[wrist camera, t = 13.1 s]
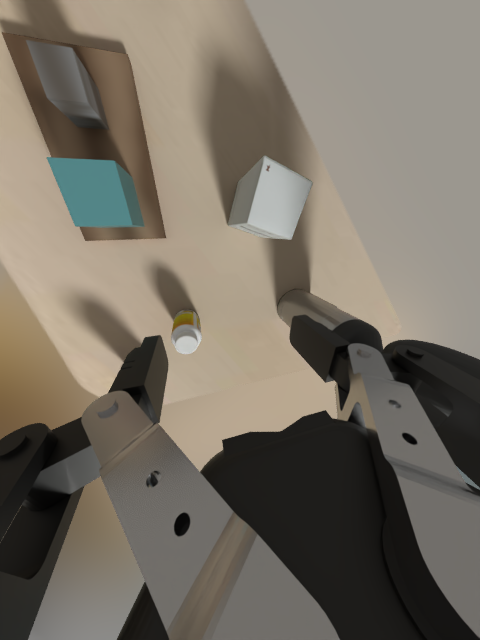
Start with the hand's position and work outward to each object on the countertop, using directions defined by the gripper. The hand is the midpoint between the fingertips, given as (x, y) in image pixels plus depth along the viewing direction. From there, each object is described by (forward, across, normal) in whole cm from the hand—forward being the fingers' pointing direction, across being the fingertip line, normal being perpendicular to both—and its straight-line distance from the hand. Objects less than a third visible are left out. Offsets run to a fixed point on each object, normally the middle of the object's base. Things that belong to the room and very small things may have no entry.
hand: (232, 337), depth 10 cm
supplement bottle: (+28, +5, +12) cm, 31 cm away
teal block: (+27, +12, -10) cm, 31 cm away
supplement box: (+28, -10, -9) cm, 31 cm away
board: (+28, +12, -15) cm, 34 cm away
